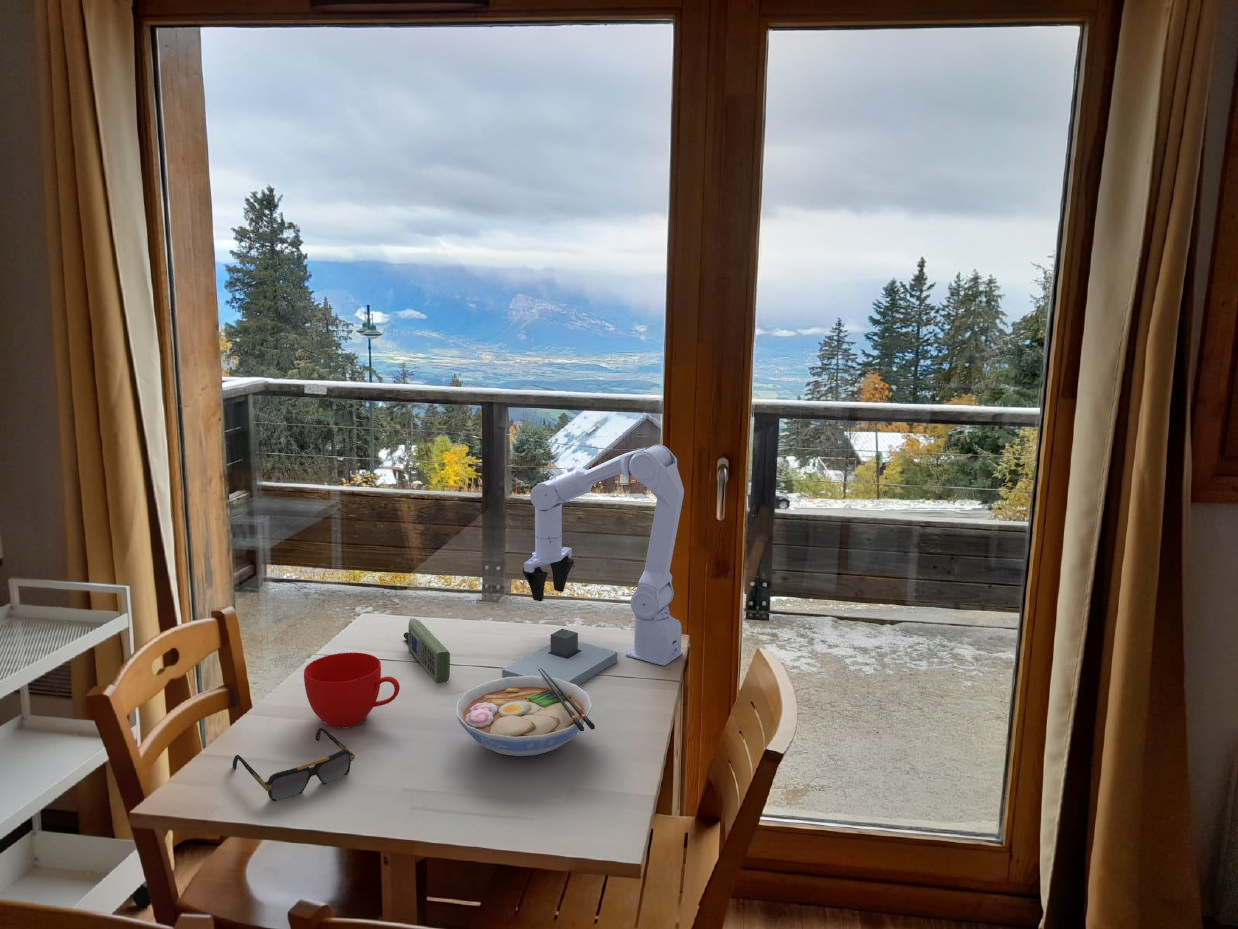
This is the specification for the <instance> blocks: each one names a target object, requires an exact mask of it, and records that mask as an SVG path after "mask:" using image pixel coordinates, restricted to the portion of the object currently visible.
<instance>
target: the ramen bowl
mask: <svg viewBox="0 0 1238 929" xmlns="http://www.w3.org/2000/svg"><path fill="white" fill-rule="evenodd" d="M538 670H539V668H538ZM541 670H542V671H543V672H544V673H545V674H546V676H547V677H545V676H544V675H543V674H542V672H541V671H540V670H539V672H540V673H541V674H542V676H543V677H540V676H518V677H506V678H498V679H493V680H490V681H486V682H483V683H481V684H478V685H477V686H474V687H473V688H471V689H469V690H466V691H465V692H464V693H463V694H462V696H460V697H459V699H458V700H457V701H456V703H455V716H456V718H457V719H458V720H457V721H458V722H459V724H460V725H461V726H462V727H463V729H464V730H465V731H466V733H468V734H469V735H470V736H471V737H472V738H473V739H474V740H475V741H476V742H477V743H478V744H479V745H480V746H481V747H484V748H486V749H488V750H491V751H493V752H496V753H498V754H501V755H507V756H513V757H525V756H527V757H528V756H537V755H540V754H541V755H542V754H544V753H548V752H550V751H554V750H555V749H558V748H560V747H561V746H563V745H564V744H566V743H567V742H569V741H570V740H572V739H573V738H574V737H575V736H576V735H577V734H578V732H580V733H582V732H584V731H585V727H584V724H586V725H587V726H588V728H589V729H590V730H595V729H596V725H595V724H594V722H593V721H592V720H590V718H589V717H588V716H589V715H590V712H591V710H592V708H593V703H592V699H591V697H590V693H588V692H586V691H585V690H584V689H583V688H581V687H580V686H579V685H578V686H577V685H575V684H572V683H569V682H566V681H563V680H560V679H557V678H550V677H549V676H548V674H547V673H546V672H545V671H544V670H543V669H542V668H541Z"/></svg>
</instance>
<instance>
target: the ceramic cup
mask: <svg viewBox="0 0 1238 929" xmlns="http://www.w3.org/2000/svg"><path fill="white" fill-rule="evenodd" d="M381 675H382V663H381V660H380V659H379V658H378V657H376V656H375V655H372V654H369V653H364V652H354V651H353V652H340V653H333V654H329V655H326V656H325V655H324V656H322V657H319V658H317V659H314V660H313V661H311V662H310V663H309V664H307V666H305V668H304V670H303V682H304V683H303V684H304V688H305V694H306V697H307V701H308V703H309V705H310V709H312V712H313V713H314V714H315V715H316V717H317V718H319V720H321V721H322V722H324V723H325V725H326V726H328V727H330V728H333V729H348V728H353V727H355V726H358V725H360V724H361V723H363V721H364V720H365V719H366V718H367V717H368V715H369V714H370V713H371V711H372V710H373V708H378V707H380V706H385V705H387V704H390V703H391V702H392V701H394V700H395V699H396V698H397V696H398V695H399V692H400V688H401V687H400V683H399V680H398V679H397V678H395V677H393V676H383V677H382V676H381ZM385 682H387V683H390V684H392V686H393V689H394V691H393V693H392V695H391V696H390V697H388V698H386V699H382V700H379V701H378V697H379V694H380V689H381V684H383V683H385Z"/></svg>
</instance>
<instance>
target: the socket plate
mask: <svg viewBox="0 0 1238 929" xmlns="http://www.w3.org/2000/svg"><path fill="white" fill-rule="evenodd" d="M617 662H618V651H614V650H610V649H608V648H607V649H606V648H603V647H599V646H596V645H593V644H588V643H584V642H580V641H578V653H577V654H576V655H574V656H572V657H570V658H568V659H566V658H563V657H559V656H556V655H552V654H551V643H550V644H548V645H545V646H543V647H542V648H540V649H538V650H537V651H535V652H532V653H531V654H528V655H527V656H525V657H522V658H521V659H519V660H517V661H515V662H514V663H512V664H510V665H508V666H506V667H504V668H502V670H501V677H502V678H506V677H518V676H540V677H543V676H542V674H543V675H544V676H545V677H547V676H546V674H545V673H544V672H543V671H542V670H541V668H542V669H543V670H544V671H545V672H546V673H547V674H548V676H549V677H550V678H557V679H560V680H563V681H566V682H569V683H572V684H575V685H577V686H578V687H579V685H582V683H584V682H585V681H588V680H589V679H591V678H593V677H595V676H596V675H598V674H599V673H601V672H602V671H604V670H606V669H607V668H609V667H610V666H612V665H614V664H615V663H617ZM611 664H612V665H611ZM606 667H607V668H606ZM538 668H539V670H540V671H541V672H542V674H541V673H540V672H539V670H538ZM605 668H606V669H605ZM603 669H604V670H603ZM600 671H601V672H600ZM598 672H599V673H598ZM595 674H596V675H595ZM592 676H593V677H592ZM502 678H501V679H502Z"/></svg>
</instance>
